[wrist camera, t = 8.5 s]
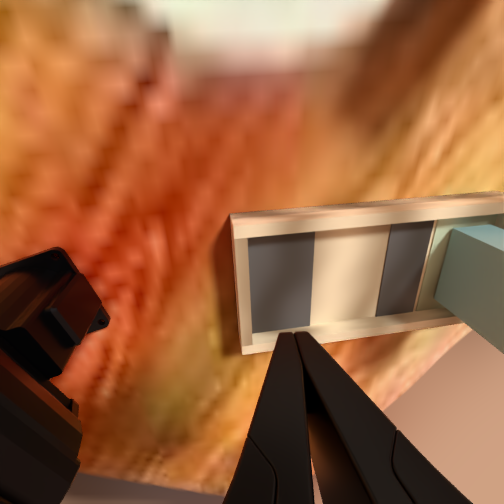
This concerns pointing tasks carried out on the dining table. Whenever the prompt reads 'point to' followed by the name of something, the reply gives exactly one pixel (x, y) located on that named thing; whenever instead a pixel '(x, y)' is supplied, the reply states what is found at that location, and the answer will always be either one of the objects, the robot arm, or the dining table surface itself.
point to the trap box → (348, 266)
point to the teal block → (475, 280)
